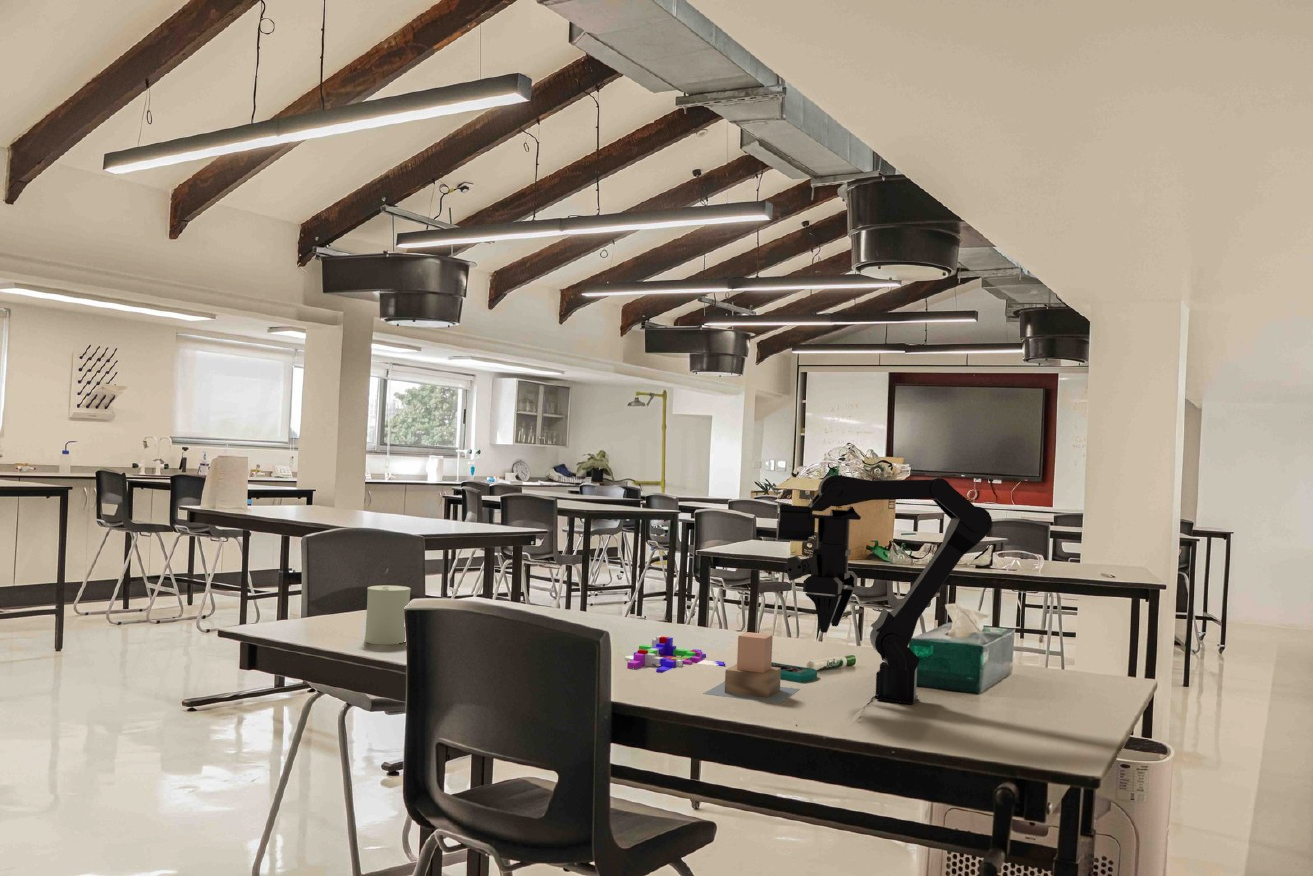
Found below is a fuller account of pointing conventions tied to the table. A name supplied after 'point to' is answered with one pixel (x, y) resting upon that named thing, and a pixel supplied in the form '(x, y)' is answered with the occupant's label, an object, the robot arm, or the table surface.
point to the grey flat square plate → (775, 698)
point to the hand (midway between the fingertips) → (829, 629)
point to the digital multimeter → (796, 673)
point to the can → (386, 614)
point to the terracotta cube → (754, 652)
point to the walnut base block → (752, 682)
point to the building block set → (666, 656)
